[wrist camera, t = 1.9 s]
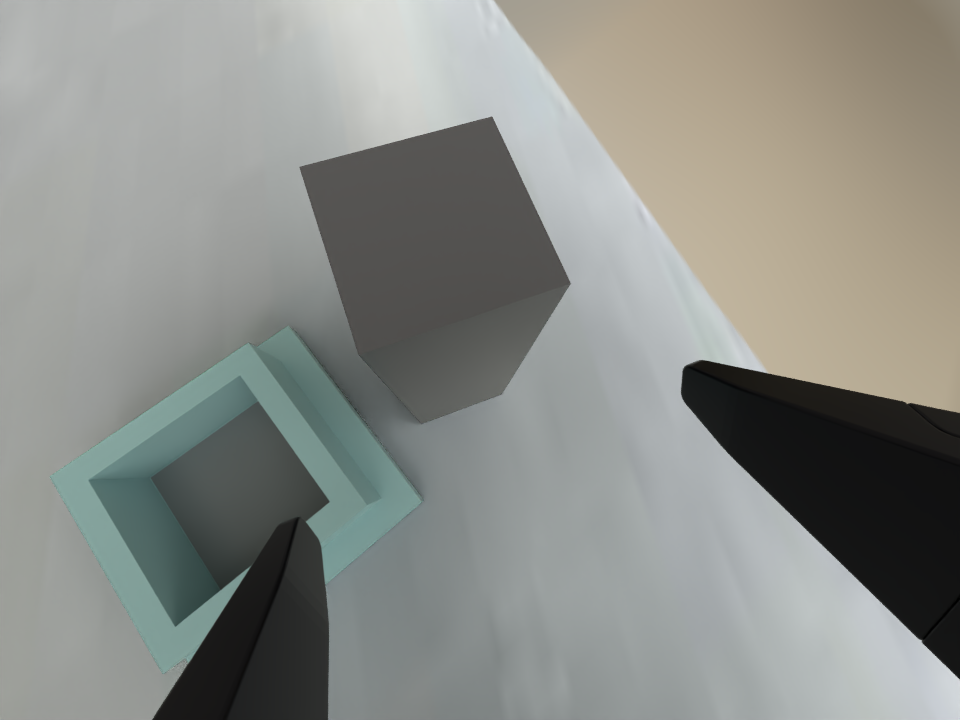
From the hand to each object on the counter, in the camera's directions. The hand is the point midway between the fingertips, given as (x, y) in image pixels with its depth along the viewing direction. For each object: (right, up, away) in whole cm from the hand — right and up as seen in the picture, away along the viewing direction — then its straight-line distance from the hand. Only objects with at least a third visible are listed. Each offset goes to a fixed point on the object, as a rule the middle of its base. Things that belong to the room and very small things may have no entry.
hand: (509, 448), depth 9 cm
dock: (-11, -4, +10) cm, 15 cm away
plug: (-2, +1, +12) cm, 12 cm away
